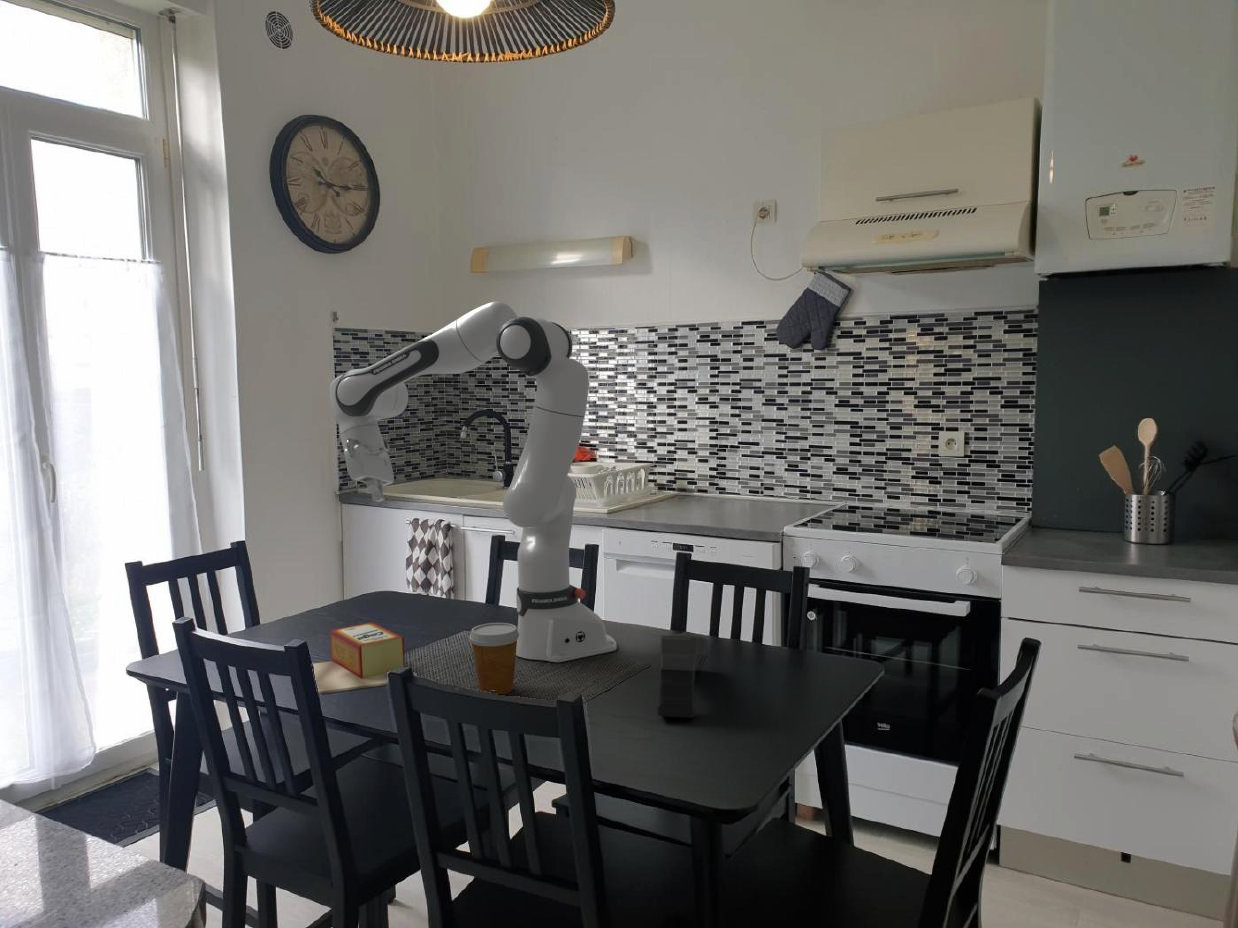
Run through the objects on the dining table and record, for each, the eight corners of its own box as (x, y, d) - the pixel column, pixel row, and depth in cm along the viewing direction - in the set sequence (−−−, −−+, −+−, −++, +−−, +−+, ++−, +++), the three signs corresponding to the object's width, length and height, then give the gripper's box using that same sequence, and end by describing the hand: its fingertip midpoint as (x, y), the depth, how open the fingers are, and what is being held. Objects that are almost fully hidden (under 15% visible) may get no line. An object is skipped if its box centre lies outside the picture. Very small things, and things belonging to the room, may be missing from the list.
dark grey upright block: (655, 716, 158) (658, 627, 161) (675, 709, 186) (677, 633, 189) (693, 718, 157) (695, 628, 160) (708, 711, 185) (709, 634, 188)
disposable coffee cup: (505, 678, 184) (503, 619, 183) (530, 690, 177) (528, 629, 176) (462, 688, 179) (460, 628, 178) (486, 702, 171) (483, 638, 170)
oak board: (398, 654, 202) (398, 652, 201) (412, 681, 184) (412, 678, 184) (311, 666, 195) (311, 663, 195) (317, 694, 177) (317, 691, 177)
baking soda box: (372, 622, 202) (404, 637, 190) (373, 651, 203) (405, 668, 190) (329, 630, 196) (359, 646, 184) (331, 660, 197) (361, 678, 185)
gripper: (358, 432, 201) (376, 492, 199) (390, 444, 221) (406, 499, 220) (331, 441, 202) (348, 501, 200) (365, 453, 222) (381, 508, 220)
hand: (379, 500), depth 210 cm, fingers closed
